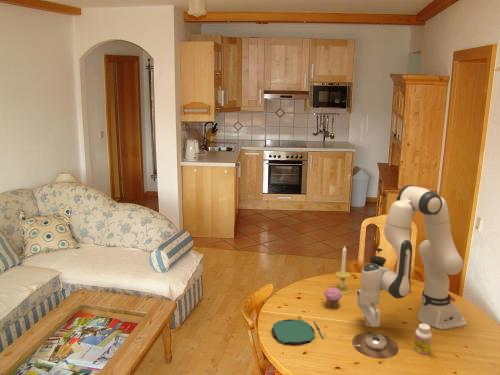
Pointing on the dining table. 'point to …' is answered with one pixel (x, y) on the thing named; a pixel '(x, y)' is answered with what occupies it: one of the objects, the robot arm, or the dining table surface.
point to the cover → (375, 342)
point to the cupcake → (333, 297)
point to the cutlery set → (294, 331)
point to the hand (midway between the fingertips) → (367, 325)
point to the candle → (343, 275)
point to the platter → (361, 347)
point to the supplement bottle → (422, 339)
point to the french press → (378, 259)
